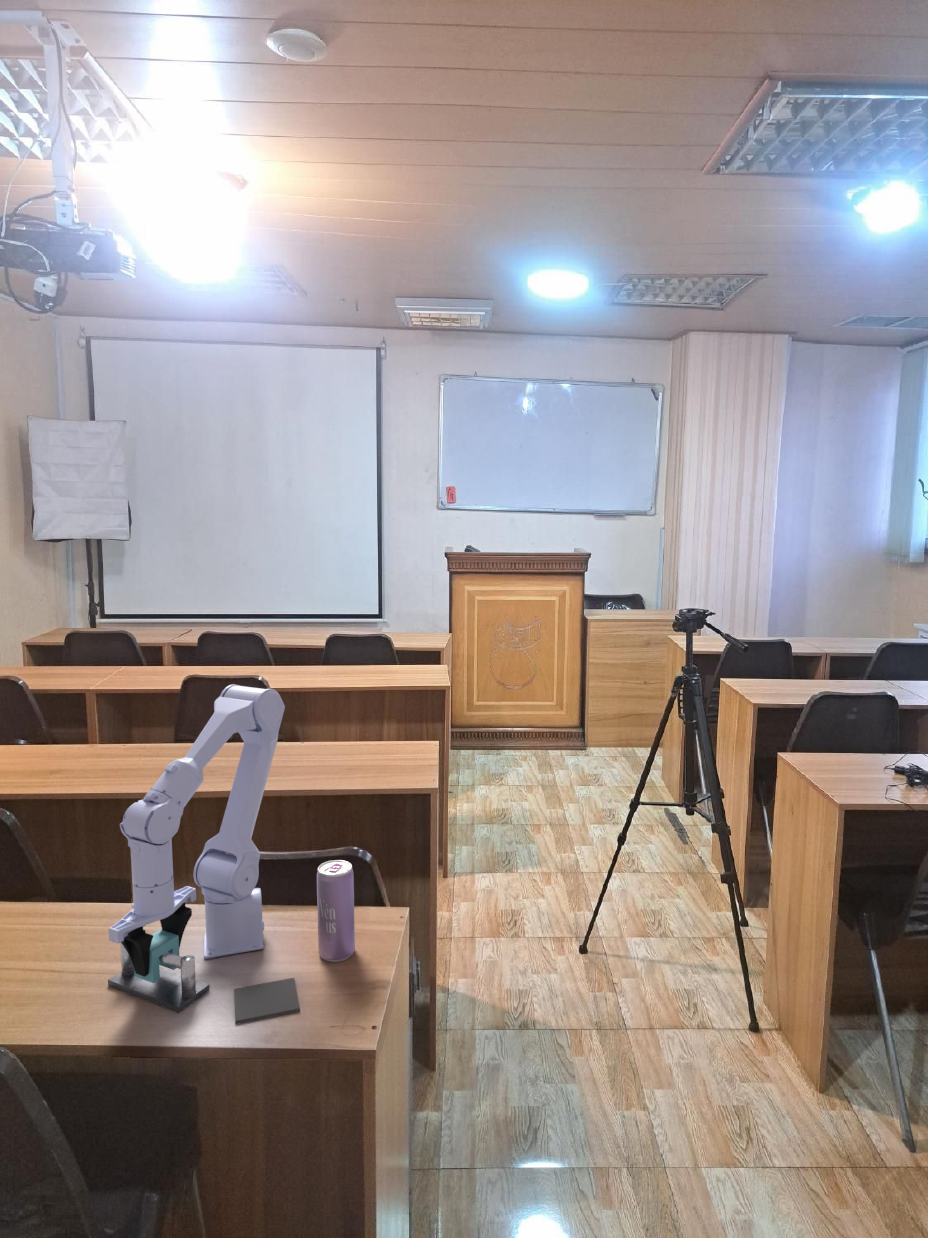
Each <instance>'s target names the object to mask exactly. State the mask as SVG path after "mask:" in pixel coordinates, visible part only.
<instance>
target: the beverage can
mask: <svg viewBox="0 0 928 1238" xmlns="http://www.w3.org/2000/svg"><path fill="white" fill-rule="evenodd" d="M354 882H355V879H354V870H353V865H352V863H351V862H349V861H346V860H342V859H335V860H328V861H325V862H323V863H320V865H319V866H318V867H317V872H316V899H317V900H316V901H317V905H316V906H317V908H316V909H317V936H318V937H317V941H318V942H317V943H318V947H317V948H318V954H319V956H320V957H321V958H322V959H323V961H325V962H328V963H329V962H330V963H339V962H343V961H346V960H348V959H349V958H350V957H352V955H353V954H354V952H355V949H356V941H355V940H356V939H355V938H356V936H355V934H356V932H355V927H356V926H355V883H354Z"/></svg>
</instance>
